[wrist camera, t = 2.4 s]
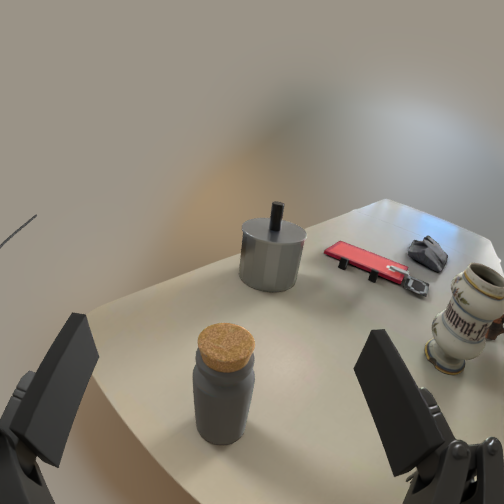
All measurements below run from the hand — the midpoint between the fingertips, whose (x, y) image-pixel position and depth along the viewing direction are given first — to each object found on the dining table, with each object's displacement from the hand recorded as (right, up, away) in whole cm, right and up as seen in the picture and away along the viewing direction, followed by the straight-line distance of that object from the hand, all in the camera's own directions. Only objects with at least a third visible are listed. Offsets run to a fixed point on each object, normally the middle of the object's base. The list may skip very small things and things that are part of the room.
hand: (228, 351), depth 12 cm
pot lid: (+6, +8, +46) cm, 47 cm away
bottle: (-3, -16, +17) cm, 24 cm away
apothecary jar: (+37, -15, +29) cm, 50 cm away
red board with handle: (+34, -1, +58) cm, 68 cm away
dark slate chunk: (+60, +3, +71) cm, 93 cm away
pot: (+4, -1, +50) cm, 50 cm away
